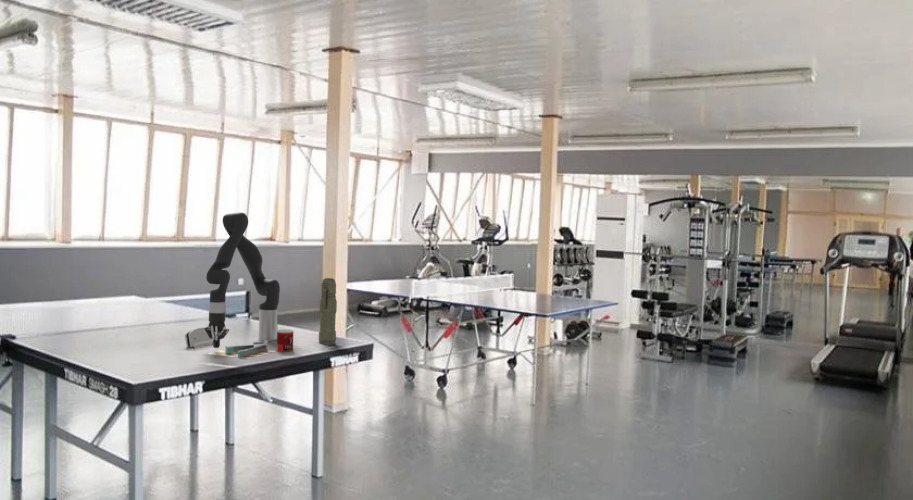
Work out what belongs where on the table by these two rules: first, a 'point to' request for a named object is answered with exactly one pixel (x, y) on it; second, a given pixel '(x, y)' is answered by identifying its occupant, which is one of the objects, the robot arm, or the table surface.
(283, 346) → the canned food
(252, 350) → the tongs fixed
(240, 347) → the tong arm
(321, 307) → the green moai statue
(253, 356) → the board
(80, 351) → the table surface
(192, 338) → the grey curved block
